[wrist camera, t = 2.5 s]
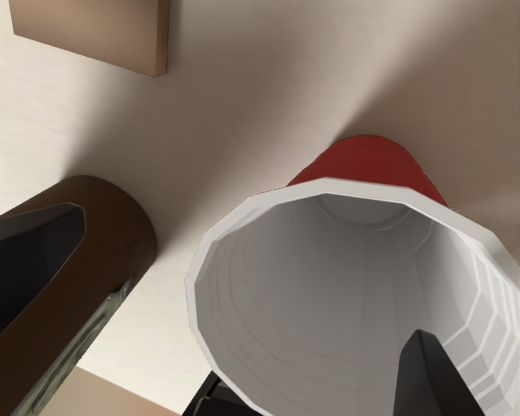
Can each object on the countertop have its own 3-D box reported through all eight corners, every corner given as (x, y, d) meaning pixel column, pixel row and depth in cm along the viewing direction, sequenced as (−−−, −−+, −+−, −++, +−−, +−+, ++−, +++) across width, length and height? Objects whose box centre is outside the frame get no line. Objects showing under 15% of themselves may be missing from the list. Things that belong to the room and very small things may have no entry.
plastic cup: (481, 62, 17) (610, 182, 7) (467, 257, 22) (529, 487, 12) (254, 94, 20) (128, 202, 11) (287, 254, 25) (221, 427, 16)
